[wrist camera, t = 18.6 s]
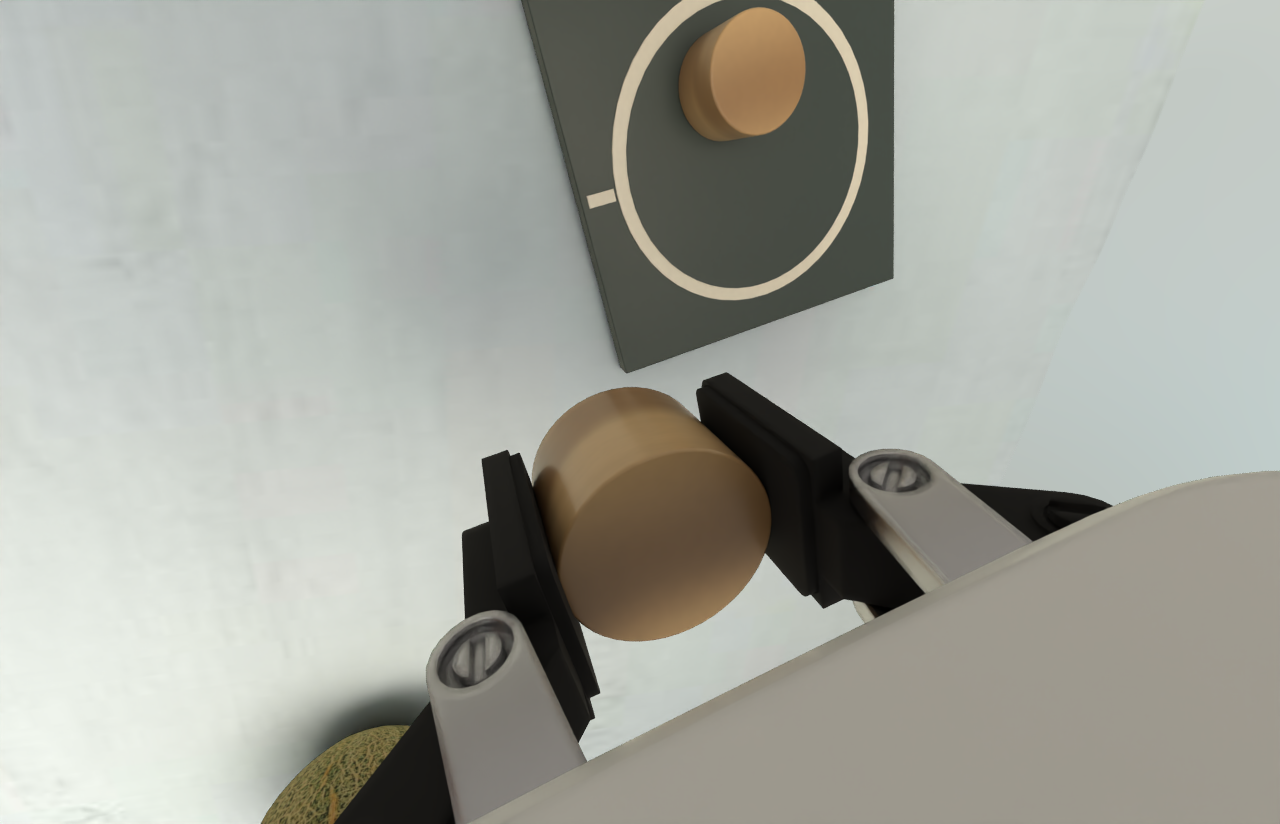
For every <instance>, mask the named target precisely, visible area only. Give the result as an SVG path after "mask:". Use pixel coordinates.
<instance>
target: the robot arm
mask: <svg viewBox="0 0 1280 824" xmlns="http://www.w3.org/2000/svg"><path fill="white" fill-rule="evenodd" d="M696 396H697V402H698V408H699V413H700V418H701V423H702V424H703V425H705V426H706V427H707V428H708V429H709V430H710V431H711V432H712V433H713V434H714V435H715V436H716V437H717V438H719V439H720V440H721V441H722V442H723V443H724V444H725V445H726V446H727V447H728V448H729V449H730V450H731V451H733V452H734V453H735V454H736V455H737V456H738V457H739V458H740V459H741V460H742V461H743V462H744V463H745V464H746V465H748V466H749V467H750V468H751V469H752V470H753V472H754V473H755V474H756V475H757V476H758V477H759V479H760V481H761V482H762V484H763V486H764V488H765V490H766V493H767V495H768V498H769V503H770V508H771V532H770V537H769V541H768V545H767V548H766V551H765V553H766V554H767V555H768V557H769V558H770V559H771V560H772V561H773V562H774V563H775V565H776V566H777V567H778V568H779V569H780V570H781V572H782V573H783V574H784V575H785V576H786V577H787V578H788V580H789V581H790V582H791V583H792V584H793V585H794V587H795V588H796V589H797V590H798V591H799V592H800V593H801V594H802V595H803V596H808V595H812V596H813V597H814V599H815V600H816V601H817V602H818V603H819V604H820V605H821V606H822V608H823V609H824V608H826V607H828V606H830V605H832V604H835V603H837V602H839V601H841V600H843V599H847V600H852V601H853V604H854V607H855V609H856V611H857V613H858V614H859V616H860V617H861V619H862V620H863V622H864V623H865V624H863V625H861V626H859V627H857V628H855V629H853V630H851V631H849V632H847V633H845V634H843V635H841V636H839V637H837V638H835V639H833V640H831V641H829V642H827V643H825V644H823V645H821V646H818V647H816V648H814V649H812V650H810V651H808V652H806V653H804V654H802V655H800V656H798V657H796V658H794V659H792V660H790V661H788V662H786V663H784V664H782V665H780V666H778V667H776V668H774V669H772V670H770V671H768V672H766V673H764V674H762V675H760V676H758V677H756V678H754V679H752V680H750V681H748V682H746V683H744V684H742V685H740V686H738V687H736V688H734V689H732V690H730V691H728V692H726V693H724V694H722V695H720V696H718V697H716V698H714V699H712V700H710V701H708V702H706V703H704V704H702V705H700V706H698V707H696V708H694V709H692V710H690V711H688V712H686V713H684V714H682V715H680V716H678V717H676V718H674V719H672V720H670V721H668V722H666V723H664V724H662V725H660V726H658V727H656V728H654V729H652V730H650V731H648V732H646V733H644V734H642V735H640V736H638V737H636V738H634V739H632V740H630V741H628V742H626V743H624V744H622V745H620V746H618V747H616V748H614V749H612V750H610V751H608V752H606V753H604V754H602V755H600V756H598V757H596V758H594V759H592V760H590V761H588V762H587V761H586V758H585V756H584V754H583V752H582V750H581V748H580V746H579V744H578V743H579V741H580V739H581V737H582V735H583V733H584V731H585V729H586V727H587V725H588V723H589V722H590V720H592V719H594V718H595V715H594V712H593V708H592V704H591V701H590V698H591V697H593V696H595V695H597V694H600V689H599V686H598V683H597V679H596V676H595V673H594V669H593V666H592V663H591V659H590V656H589V653H588V649H587V646H586V643H585V639H584V636H583V633H582V629H581V626H580V623H579V621H578V620H577V619H576V618H575V617H574V615H573V612H572V610H571V607H570V605H569V602H568V600H567V597H566V595H565V592H564V590H563V587H562V584H561V582H560V579H559V577H558V574H557V571H556V568H555V564H554V560H553V557H552V553H551V550H550V546H549V543H548V539H547V536H546V532H545V528H544V525H543V521H542V518H541V514H540V511H539V507H538V503H537V500H536V496H535V493H534V489H533V486H532V483H531V481H530V478H529V476H528V473H527V470H526V468H525V465H524V463H523V460H522V457H521V455H520V453H517V454H515V455H512V456H510V454H509V452H508V450H506V451H503V452H500V453H497V454H494V455H492V456H489V457H486V458H483V459H482V467H483V476H484V484H485V492H486V501H487V509H488V517H489V522H486V523H484V524H481V525H478V526H476V527H473V528H471V529H468V530H465V531H463V533H462V551H463V578H464V605H465V620H463V621H462V622H460V623H459V624H458V625H456V626H455V627H453V628H452V629H451V630H450V631H449V632H448V633H447V634H446V635H445V636H444V637H443V638H442V639H441V640H440V641H439V642H438V644H437V645H436V647H435V648H434V650H433V651H432V653H431V655H430V658H429V661H428V664H427V666H426V683H427V687H428V692H429V697H430V702H429V703H428V705H427V706H426V707H425V708H424V710H423V711H422V712H421V713H420V715H419V716H418V717H417V718H416V720H415V721H414V722H413V724H412V725H411V726H410V727H409V729H408V730H407V731H406V732H405V734H404V735H403V736H402V737H401V739H400V740H399V741H398V742H397V744H396V745H395V746H394V748H393V749H392V750H391V751H390V753H389V754H388V755H387V756H386V758H385V759H384V760H383V761H382V763H381V764H380V765H379V767H378V768H377V769H376V770H375V772H374V773H373V774H372V775H371V777H370V778H369V779H368V780H367V782H366V783H365V784H364V786H363V787H362V788H361V789H360V791H359V792H358V793H357V794H356V796H355V797H354V798H353V799H352V801H351V802H350V803H349V805H348V806H347V807H346V808H345V810H344V811H343V812H342V813H341V815H340V816H339V817H338V818H337V820H336V821H335V822H334V824H1280V471H1261V472H1252V473H1242V474H1233V475H1224V476H1216V477H1209V478H1205V479H1200V480H1195V481H1191V482H1186V483H1182V484H1177V485H1173V486H1170V487H1166V488H1163V489H1160V490H1157V491H1154V492H1151V493H1148V494H1144V495H1141V496H1138V497H1135V498H1132V499H1130V500H1127V501H1125V502H1123V503H1119V504H1117V505H1115V506H1112V505H1110V504H1107V503H1106V502H1104V501H1101V500H1098V499H1095V498H1091V497H1088V496H1085V495H1079V494H1073V493H1067V492H1056V491H1044V490H1032V489H1021V488H1009V487H998V486H986V485H974V484H963V483H959V482H958V481H957V480H955V479H954V478H953V477H952V476H950V475H949V474H948V473H947V472H945V471H944V470H943V469H942V468H940V467H939V466H938V465H937V464H935V463H934V462H933V461H931V460H930V459H928V458H926V457H925V456H923V455H920V454H917V453H914V452H912V451H907V450H900V449H880V450H874V451H869V452H867V453H864V454H862V455H860V456H858V457H857V458H856V459H855V458H854V457H852V456H851V455H849V454H848V453H846V452H845V451H843V450H842V448H840V447H839V446H837V445H836V444H834V443H833V442H831V441H830V440H828V439H827V438H825V437H824V436H822V435H821V434H819V433H818V432H816V431H815V430H813V429H812V428H810V427H809V426H807V425H806V424H804V423H802V422H801V421H799V420H798V419H796V418H795V417H793V416H792V415H790V414H789V413H787V412H786V411H784V410H783V409H781V408H780V407H778V406H777V405H775V404H774V403H772V402H771V401H769V400H768V399H766V398H765V397H763V396H762V395H760V394H759V393H757V392H756V391H754V390H753V389H751V388H750V387H748V386H747V385H745V384H744V383H742V382H741V381H739V380H738V379H736V378H735V377H733V376H732V375H730V374H729V373H723V374H720V375H717V376H715V377H712V378H709V379H706V380H703V382H702V388H699V389H697V391H696Z"/></svg>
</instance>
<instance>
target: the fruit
mask: <svg viewBox="0 0 1280 824" xmlns="http://www.w3.org/2000/svg"><path fill="white" fill-rule="evenodd" d="M409 727H410V726H407V725H389V726H381V727H376V728H371V729H368V730H364V731H361V732H358V733H356V734H353V735H350V736H348V737H346V738H344V739H342V740H341V741H339V742H338V743H336V744H335V745H333V746H332V747H330V748H329V749H327V750H326V751H325V752H323V753H322V754H321V755H319V756H318V757H317V758H315V759H314V760H313V761H312V762H311V763H310V764H308V765H307V766H306V767H305V768H304V769H303V770H302V771H301V772H300V773H299V774H298V775H297V776H296V777H295V778H294V779H293V780H292V781H291V782H290V783H289V785H288V786H287V787H286V788H285V789H284V790H283V792H282V793H281V794H280V795H279V796H278V798H277V799H276V800H275V802H274V803H273V805H272V806H271V808H270V809H269V810H268V812H267V813H266V815H265V817H264V819H263V821H262V822H261V824H334V822H335V821H336V820H337V818H338V817H339V816H340V815H341V813H342V812H343V811H344V810H345V808H346V807H347V806H348V805H349V803H350V802H351V801H352V799H353V798H354V797H355V796H356V794H357V793H358V792H359V791H360V789H361V788H362V787H363V786H364V784H365V783H366V782H367V780H368V779H369V778H370V777H371V775H372V774H373V773H374V772H375V770H376V769H377V768H378V767H379V765H380V764H381V763H382V761H383V760H384V759H385V758H386V756H387V755H388V754H389V753H390V751H391V750H392V749H393V748H394V746H395V745H396V744H397V742H398V741H399V740H400V739H401V737H402V736H403V735H404V734H405V732H406V731H407V730H408V729H409Z"/></svg>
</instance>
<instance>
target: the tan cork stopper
mask: <svg viewBox="0 0 1280 824" xmlns="http://www.w3.org/2000/svg"><path fill="white" fill-rule="evenodd" d="M532 486H533V489H534V493H535V496H536V500H537V503H538V507H539V511H540V514H541V518H542V521H543V525H544V528H545V532H546V536H547V539H548V543H549V546H550V550H551V553H552V557H553V560H554V564H555V568H556V571H557V574H558V577H559V579H560V582H561V584H562V587H563V590H564V592H565V595H566V597H567V600H568V602H569V605H570V607H571V610H572V612H573V615H574V617H575V618H576V619H577V620H578V621H579V622H580V623H581V624H582V625H584V626H585V627H587V628H588V629H590V630H591V631H593V632H595V633H598V634H600V635H602V636H605V637H608V638H612V639H616V640H623V641H650V640H656V639H661V638H666V637H669V636H673V635H676V634H679V633H681V632H684V631H686V630H689V629H691V628H693V627H695V626H697V625H699V624H701V623H703V622H704V621H706V620H707V619H709V618H711V617H712V616H714V615H715V614H716V613H718V612H719V611H720V610H722V609H723V608H724V607H726V606H727V605H728V604H729V603H730V602H731V601H732V600H733V599H734V598H735V597H736V596H737V595H738V594H739V593H740V592H741V591H742V590H743V589H744V587H745V586H746V585H747V583H748V582H749V581H750V579H751V578H752V576H753V575H754V573H755V572H756V570H757V568H758V567H759V565H760V563H761V561H762V558H763V556H764V554H765V551H766V548H767V545H768V541H769V537H770V532H771V508H770V503H769V498H768V495H767V493H766V490H765V488H764V486H763V484H762V482H761V481H760V479H759V477H758V476H757V475H756V474H755V473H754V472H753V470H752V469H751V468H750V467H749V466H748V465H746V464H745V463H744V462H743V461H742V460H741V459H740V458H739V457H738V456H737V455H736V454H735V453H734V452H733V451H731V450H730V449H729V448H728V447H727V446H726V445H725V444H724V443H723V442H722V441H721V440H720V439H719V438H717V437H716V436H715V435H714V434H713V433H712V432H711V431H710V430H709V429H708V428H707V427H706V426H705V425H703V424H702V423H701V422H700V421H699V420H698V419H697V418H696V417H695V416H694V415H693V414H692V413H691V412H689V411H688V410H687V409H686V408H685V407H684V406H683V405H682V404H680V403H679V402H678V401H677V400H675V399H673V398H672V397H670V396H668V395H666V394H664V393H661V392H659V391H655V390H651V389H648V388H639V387H624V388H617V389H611V390H608V391H604V392H600V393H598V394H595V395H593V396H591V397H588V398H586V399H585V400H583V401H581V402H579V403H577V404H576V405H575V406H573V407H572V408H571V409H569V410H568V411H566V412H565V413H564V414H563V415H562V416H561V417H560V418H559V419H558V420H557V421H556V422H555V423H554V425H553V426H552V427H551V428H550V429H549V431H548V432H547V434H546V435H545V437H544V439H543V440H542V442H541V444H540V446H539V449H538V451H537V454H536V457H535V460H534V464H533V470H532Z"/></svg>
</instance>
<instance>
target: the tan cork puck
mask: <svg viewBox="0 0 1280 824" xmlns="http://www.w3.org/2000/svg"><path fill="white" fill-rule="evenodd" d="M804 81H805V55H804V50H803V46H802V43H801V40H800V38H799V36H798V33H797V31H796V30H795V28H794V27H793V25H792V24H791V23H790V22H789V20H787V19H786V18H785V17H784V16H783V15H781V14H780V13H778V12H776V11H774V10H772V9H768V8H763V7H756V8H750V9H747V10H744V11H742V12H740V13H739V14H737V15H735V16H734V17H732V18H730V19H729V20H727V21H725V22H724V23H722V24H720V25H719V26H717V27H715V28H714V29H712V30H710V31H709V32H707V33H705V34H704V35H702V36H701V37H700V38H698V39H697V40H696V41H695V42H694V43H693V45H692V46H691V47H690V49H689V50H688V52H687V54H686V56H685V58H684V60H683V63H682V66H681V70H680V75H679V98H680V103H681V107H682V109H683V112H684V114H685V117H686V119H687V120H688V122H689V123H690V125H691V126H692V127H693V128H694V129H695V130H696V131H697V132H698V133H699V134H700V135H702V136H703V137H705V138H707V139H710V140H713V141H729V140H735V139H741V138H747V137H753V136H759V135H764V134H767V133H770V132H772V131H774V130H776V129H777V128H778V127H780V126H781V125H782V124H783V123H784V122H785V121H786V120H787V119H788V118H789V117H790V115H791V114H792V113H793V111H794V109H795V108H796V106H797V104H798V102H799V99H800V97H801V94H802V90H803V86H804Z"/></svg>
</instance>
